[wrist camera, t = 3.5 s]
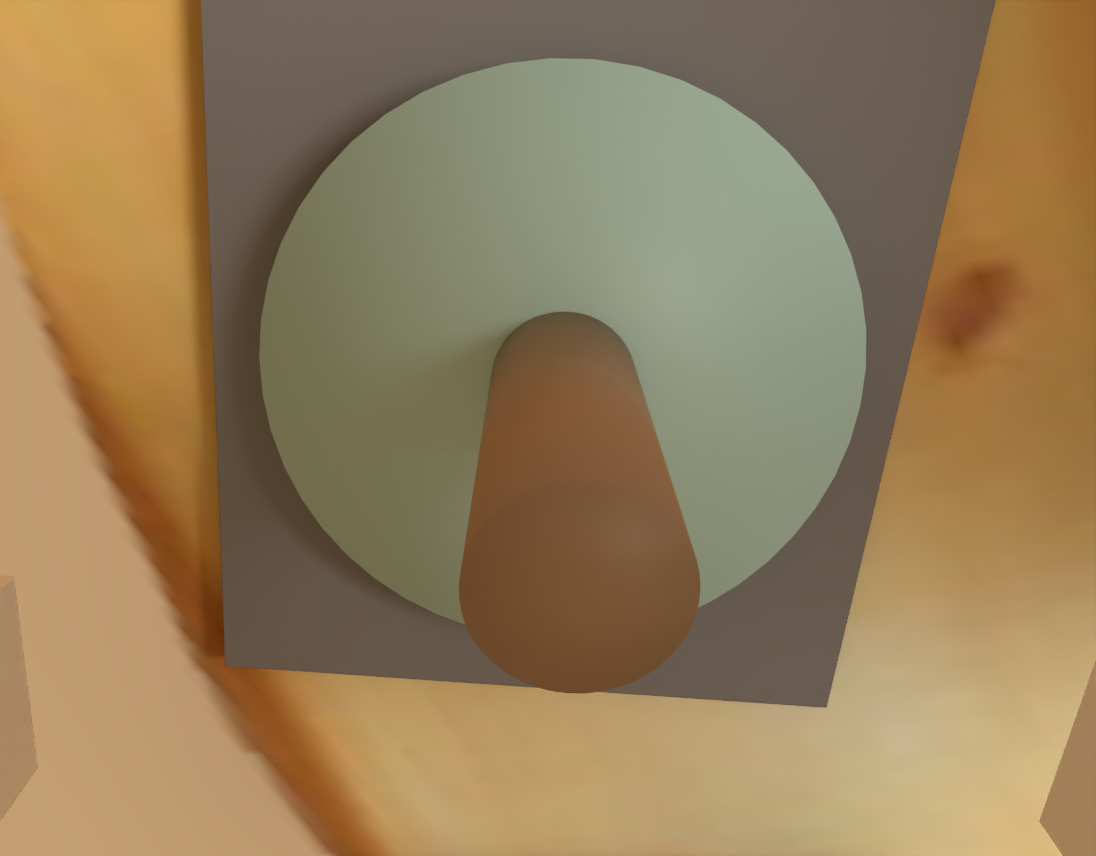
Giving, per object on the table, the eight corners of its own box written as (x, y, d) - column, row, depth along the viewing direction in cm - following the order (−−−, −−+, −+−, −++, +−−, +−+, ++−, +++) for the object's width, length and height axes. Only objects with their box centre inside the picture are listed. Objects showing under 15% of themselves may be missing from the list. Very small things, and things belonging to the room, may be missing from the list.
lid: (266, 28, 21) (6, -9, 11) (909, 89, 22) (1243, 108, 12) (277, 596, 27) (109, 935, 16) (794, 633, 27) (951, 982, 17)
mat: (205, -99, 21) (196, -104, 20) (988, -17, 22) (999, -19, 21) (231, 654, 28) (225, 665, 28) (820, 695, 29) (826, 707, 28)
